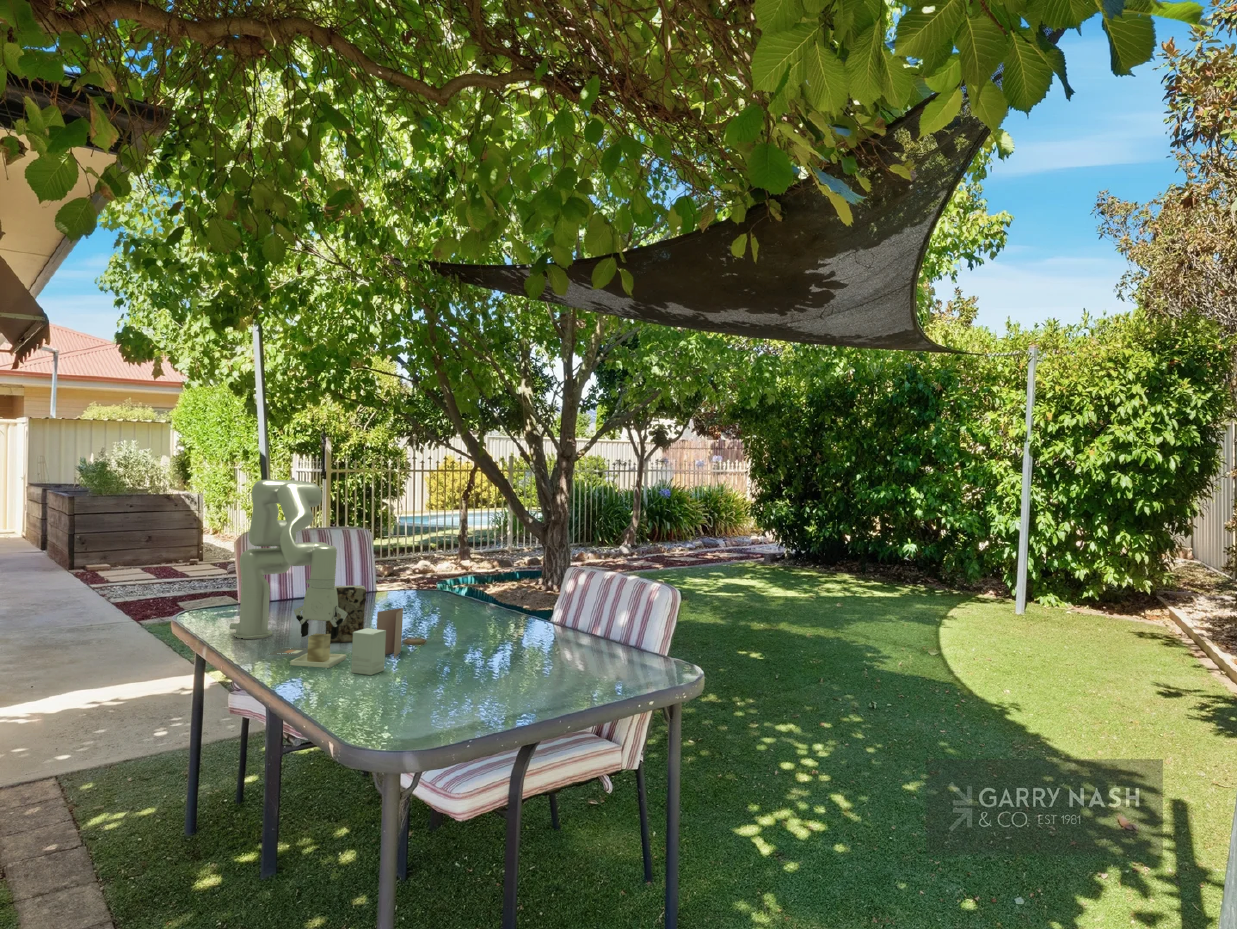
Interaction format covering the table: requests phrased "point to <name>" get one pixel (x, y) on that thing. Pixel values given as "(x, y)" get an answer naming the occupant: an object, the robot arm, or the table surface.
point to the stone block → (349, 612)
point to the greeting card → (391, 629)
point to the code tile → (290, 651)
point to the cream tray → (329, 663)
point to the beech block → (318, 647)
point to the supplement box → (368, 651)
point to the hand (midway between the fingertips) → (319, 637)
